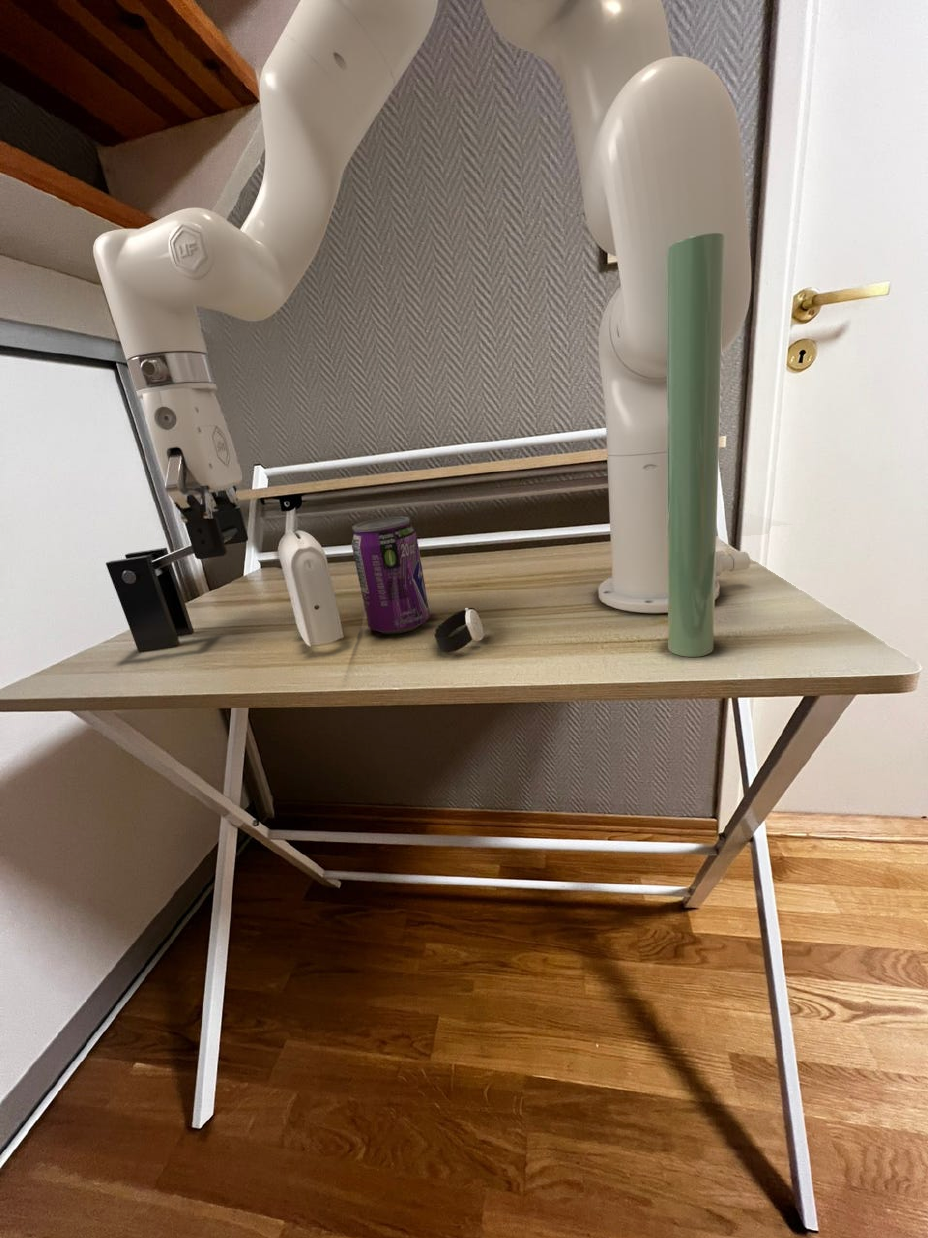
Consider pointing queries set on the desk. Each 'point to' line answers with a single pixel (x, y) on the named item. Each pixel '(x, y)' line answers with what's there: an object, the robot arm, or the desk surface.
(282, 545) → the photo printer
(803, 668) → the desk surface
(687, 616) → the tall green cylinder
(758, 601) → the desk surface
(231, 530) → the lever
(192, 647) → the desk surface
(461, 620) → the watch
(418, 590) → the beverage can
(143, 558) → the bracket
